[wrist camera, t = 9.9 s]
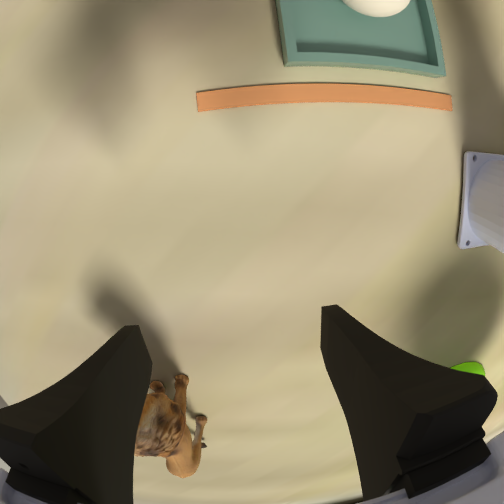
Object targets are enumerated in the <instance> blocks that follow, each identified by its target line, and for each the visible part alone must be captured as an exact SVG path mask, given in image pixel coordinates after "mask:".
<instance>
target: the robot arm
mask: <svg viewBox="0 0 504 504" xmlns="http://www.w3.org/2000/svg"><path fill="white" fill-rule="evenodd" d="M473 156H474V160H473ZM466 242H467V243H466ZM457 245H458V247H459V248H460V249H467V248H473V247H479V246H485V245H491V246H492V247H494V248H496V249H497V250H499V251H500V252H502V253H504V155H501V154H492V153H483V152H472V151H467V152H465V154H464V173H463V194H462V207H461V217H460V227H459V235H458V242H457ZM320 348H321V351H322V355H323V359H324V363H325V367H326V370H327V372H328V375H329V377H330V379H331V382H332V384H333V387H334V389H335V392H336V394H337V396H338V399H339V401H340V404H341V406H342V409H343V411H344V414H345V417H346V420H347V423H348V427H349V431H350V435H351V439H352V443H353V447H354V451H355V456H356V460H357V465H358V470H359V475H360V481H361V487H362V493H363V500H364V502H361V503H357V504H504V431H503V432H502V433H500V434H499V435H497V436H495V437H494V438H493V439H491V440H490V441H489V442H488V443H487V444H485V442H484V440H483V439H482V438H483V437H484V436H485V431H484V430H483V428H482V425H483V424H484V422H485V421H486V419H487V418H488V416H489V415H490V413H491V412H492V410H493V408H494V406H495V404H496V401H497V397H498V395H497V392H496V390H495V389H494V388H493V386H492V385H491V384H490V383H489V381H488V380H487V379H486V377H485V376H484V375H481V374H475V373H469V372H464V371H459V370H455V369H451V368H448V367H444V366H441V365H438V364H435V363H432V362H429V361H427V360H424V359H422V358H419V357H417V356H414V355H412V354H410V353H408V352H406V351H404V350H402V349H400V348H398V347H396V346H395V345H393V344H391V343H389V342H388V341H386V340H385V339H383V338H381V337H380V336H378V335H377V334H375V333H374V332H372V331H371V330H370V329H368V328H367V327H365V326H364V325H363V324H361V323H360V322H359V321H357V320H356V319H355V318H353V317H352V316H351V315H350V314H348V313H347V312H346V311H345V310H343V309H342V308H341V307H339V306H338V305H330V306H324V307H322V314H321V346H320ZM151 371H152V361H151V358H150V356H149V353H148V350H147V348H146V345H145V342H144V340H143V337H142V334H141V331H140V328H139V325H132V326H124V327H123V328H122V329H120V330H119V331H118V332H117V333H116V334H115V335H114V336H112V337H111V338H110V339H109V340H108V341H107V342H106V343H105V344H104V345H103V346H102V347H100V348H99V349H98V350H97V351H96V352H95V353H94V354H93V355H92V356H91V357H89V358H88V359H87V360H86V361H85V362H83V363H82V364H81V365H80V366H79V367H78V368H76V369H75V370H74V371H73V372H71V373H70V374H68V375H67V376H66V377H64V378H63V379H61V380H60V381H58V382H57V383H55V384H54V385H52V386H50V387H49V388H47V389H45V390H43V391H42V392H40V393H38V394H36V395H34V396H32V397H30V398H28V399H26V400H23V401H21V402H19V403H16V404H13V405H10V406H7V407H4V408H1V409H0V458H1V459H2V460H3V461H5V462H6V463H7V464H8V465H9V466H10V467H11V469H10V471H9V473H8V472H7V471H5V470H4V469H2V468H0V504H133V465H134V452H135V443H136V435H137V430H138V426H139V422H140V418H141V414H142V411H143V407H144V403H145V400H146V396H147V392H148V389H149V385H150V378H151Z"/></svg>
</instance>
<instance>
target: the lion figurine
mask: <svg viewBox="0 0 504 504" xmlns="http://www.w3.org/2000/svg"><path fill="white" fill-rule="evenodd" d="M188 382H189V378H188V377H187V376H185V375H182V374H180V375H177V376H175V389H176V394H175V397H174V400H171V399H169V398H168V396H166V395H165V388H164V386H163V384H162V383H161V382H160V381H153V382H151V384H150V388H151V389H153V390H154V391H155V393H152V394H147V396H146V400H145V403H144V407H143V411H142V414H141V418H140V422H139V426H138V430H137V435H136V443H135V452H134V455H135V456H142V457H143V456H155V457H156V456H162V457H165V458H166V465H167V469H168V470H169V472H170V473H172V474H173V475H176V476H179V477H181V478H186V477H188V476H191V475H193V474H194V473H195V472H196V470H197V468H198V466H199V463H200V458H201V448H205V447H207V446H206V445H205V443H201V438H202V435H203V429H204V426H205V424H206V422H207V418H206V417H204V416H197V417H196V431H195V434H194V436H195V437H194V440H193V442H192V438H191V434H190V431H189V428H188V426H187V425H186V415H185V413H186V389H187V385H188Z"/></svg>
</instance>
